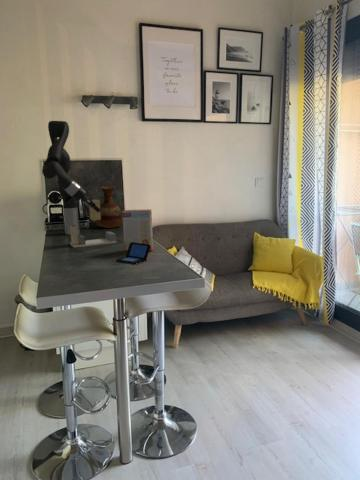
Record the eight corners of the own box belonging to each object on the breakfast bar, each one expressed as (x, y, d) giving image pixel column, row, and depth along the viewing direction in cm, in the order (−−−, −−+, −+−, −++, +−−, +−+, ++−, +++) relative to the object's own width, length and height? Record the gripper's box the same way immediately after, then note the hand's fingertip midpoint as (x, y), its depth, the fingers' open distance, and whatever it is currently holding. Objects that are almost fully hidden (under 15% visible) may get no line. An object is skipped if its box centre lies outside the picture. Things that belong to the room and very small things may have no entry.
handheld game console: (115, 262, 174) (114, 246, 172) (131, 257, 182) (130, 241, 181) (136, 265, 167) (135, 248, 165) (151, 260, 175) (151, 244, 174)
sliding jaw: (70, 241, 219) (69, 224, 217) (81, 240, 221) (79, 223, 219) (74, 245, 208) (73, 227, 206) (85, 244, 210) (84, 226, 209)
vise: (69, 243, 219) (69, 235, 218) (110, 239, 229) (110, 231, 228) (73, 247, 208) (72, 238, 207) (116, 242, 218) (116, 234, 217)
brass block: (90, 219, 219) (88, 200, 217) (98, 218, 221) (97, 199, 219) (92, 220, 215) (90, 200, 213) (100, 219, 217) (99, 200, 215)
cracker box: (153, 249, 198) (151, 208, 194) (151, 251, 192) (149, 210, 188) (127, 249, 199) (124, 209, 196) (124, 251, 194) (122, 210, 190)
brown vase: (95, 230, 267) (92, 186, 261) (95, 225, 286) (93, 185, 281) (123, 228, 271) (121, 185, 265) (122, 224, 290) (120, 184, 285)
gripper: (82, 186, 205) (105, 207, 212) (77, 185, 218) (99, 205, 225) (72, 196, 204) (96, 217, 211) (68, 195, 217) (91, 214, 224)
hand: (98, 210), depth 218 cm, fingers closed on brass block, 5 cm apart
